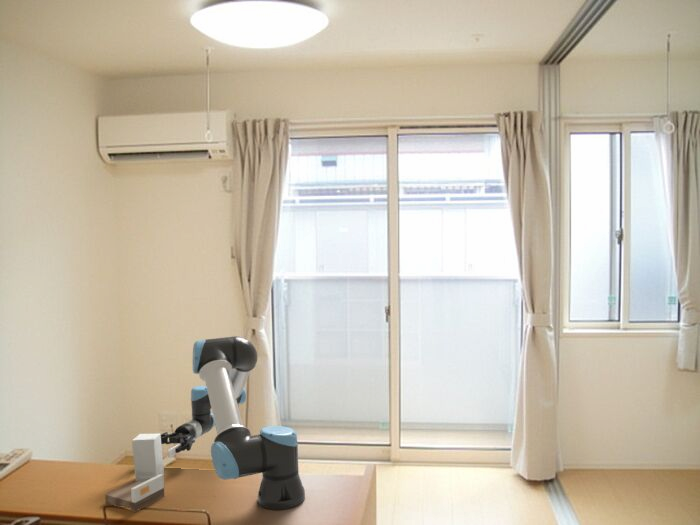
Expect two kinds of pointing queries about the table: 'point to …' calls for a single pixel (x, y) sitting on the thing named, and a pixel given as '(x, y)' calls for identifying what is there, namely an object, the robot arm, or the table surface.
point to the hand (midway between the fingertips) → (153, 452)
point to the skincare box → (147, 456)
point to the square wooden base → (137, 493)
